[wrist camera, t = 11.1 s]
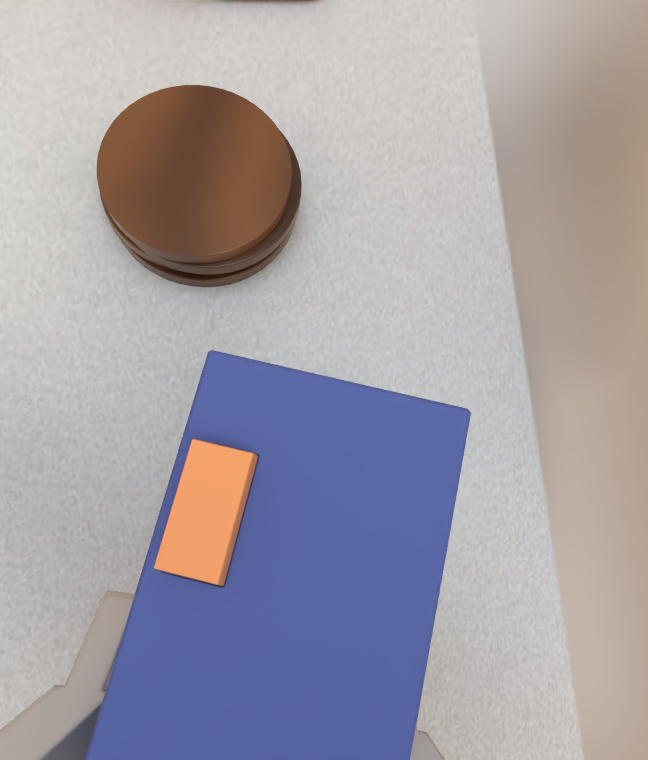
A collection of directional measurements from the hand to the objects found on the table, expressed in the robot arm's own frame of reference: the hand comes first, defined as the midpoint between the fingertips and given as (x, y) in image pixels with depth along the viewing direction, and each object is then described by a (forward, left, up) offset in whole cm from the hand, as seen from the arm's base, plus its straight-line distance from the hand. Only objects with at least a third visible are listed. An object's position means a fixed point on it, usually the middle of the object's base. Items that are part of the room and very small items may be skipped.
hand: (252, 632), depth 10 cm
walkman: (-1, +1, -7) cm, 7 cm away
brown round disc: (+3, -21, -23) cm, 31 cm away
